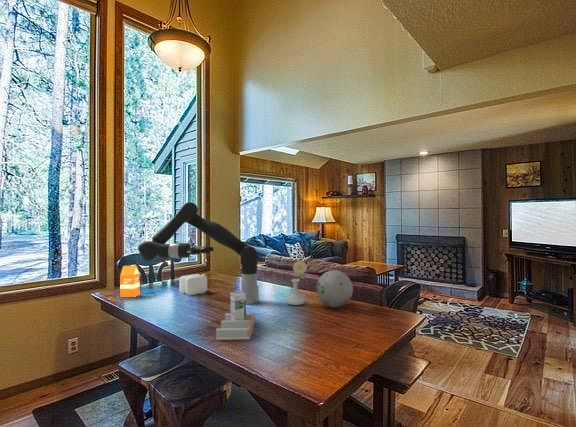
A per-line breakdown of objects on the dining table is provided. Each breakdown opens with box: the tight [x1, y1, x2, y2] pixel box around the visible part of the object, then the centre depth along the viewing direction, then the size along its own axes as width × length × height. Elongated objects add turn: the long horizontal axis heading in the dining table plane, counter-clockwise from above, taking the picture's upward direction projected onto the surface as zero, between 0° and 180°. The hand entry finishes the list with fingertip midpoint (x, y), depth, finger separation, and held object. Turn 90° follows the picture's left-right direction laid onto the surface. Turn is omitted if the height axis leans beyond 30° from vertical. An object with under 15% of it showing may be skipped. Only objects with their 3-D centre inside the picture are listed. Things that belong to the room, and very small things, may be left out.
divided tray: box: [215, 312, 256, 341], centre depth 143 cm, size 14×22×4 cm, turn 0°
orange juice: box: [119, 265, 141, 298], centre depth 205 cm, size 8×9×20 cm
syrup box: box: [230, 291, 247, 320], centre depth 148 cm, size 6×6×14 cm
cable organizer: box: [178, 273, 208, 296], centre depth 212 cm, size 15×11×12 cm
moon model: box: [316, 269, 354, 308], centre depth 176 cm, size 20×20×20 cm
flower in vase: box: [285, 260, 308, 306], centre depth 182 cm, size 13×11×25 cm
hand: (211, 250), depth 162 cm, fingers open, 8 cm apart
